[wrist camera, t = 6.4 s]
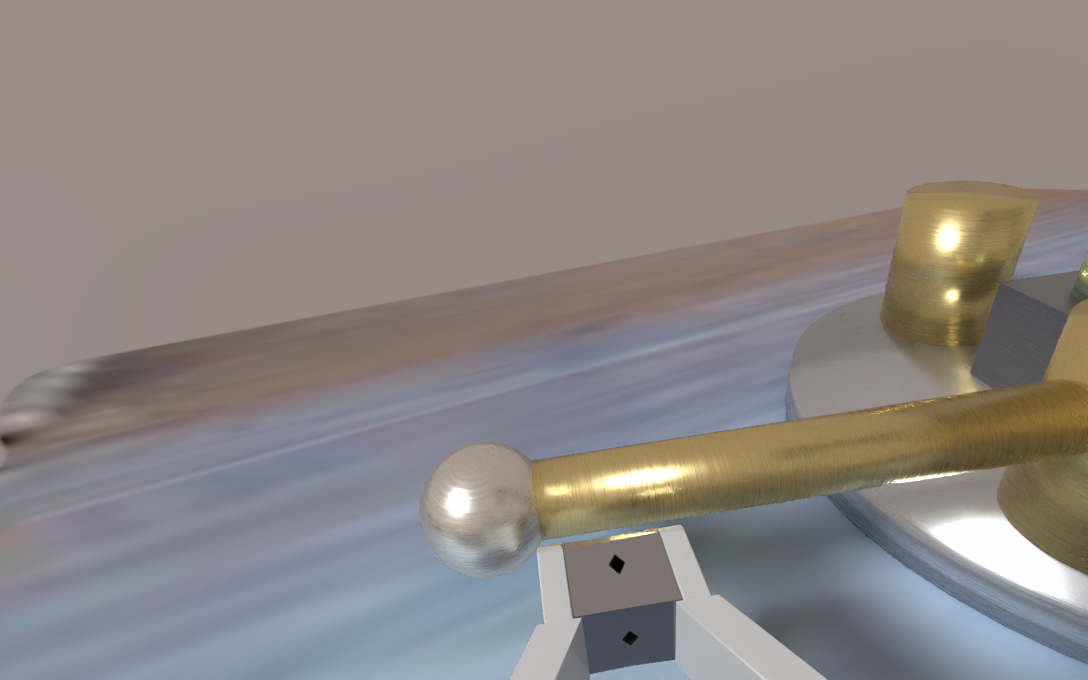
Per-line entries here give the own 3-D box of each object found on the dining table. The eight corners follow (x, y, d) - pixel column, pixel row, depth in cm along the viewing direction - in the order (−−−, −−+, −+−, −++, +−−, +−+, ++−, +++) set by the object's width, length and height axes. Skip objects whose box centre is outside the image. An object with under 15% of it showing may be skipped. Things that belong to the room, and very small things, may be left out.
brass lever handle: (1095, 456, 17) (1184, 283, 14) (1272, 577, 13) (1447, 374, 10) (459, 558, 16) (413, 399, 13) (452, 715, 13) (386, 542, 10)
